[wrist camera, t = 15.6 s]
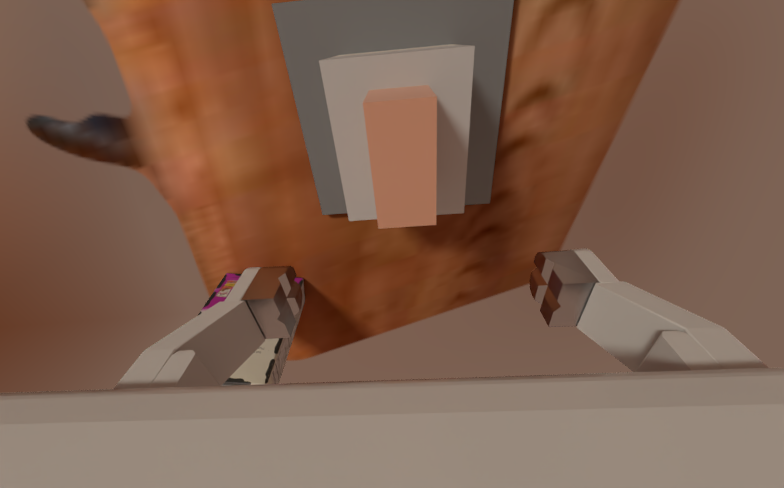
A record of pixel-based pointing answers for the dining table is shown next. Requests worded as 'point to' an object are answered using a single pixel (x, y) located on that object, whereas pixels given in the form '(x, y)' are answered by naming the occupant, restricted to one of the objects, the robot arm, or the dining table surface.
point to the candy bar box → (269, 356)
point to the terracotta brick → (403, 154)
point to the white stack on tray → (392, 70)
